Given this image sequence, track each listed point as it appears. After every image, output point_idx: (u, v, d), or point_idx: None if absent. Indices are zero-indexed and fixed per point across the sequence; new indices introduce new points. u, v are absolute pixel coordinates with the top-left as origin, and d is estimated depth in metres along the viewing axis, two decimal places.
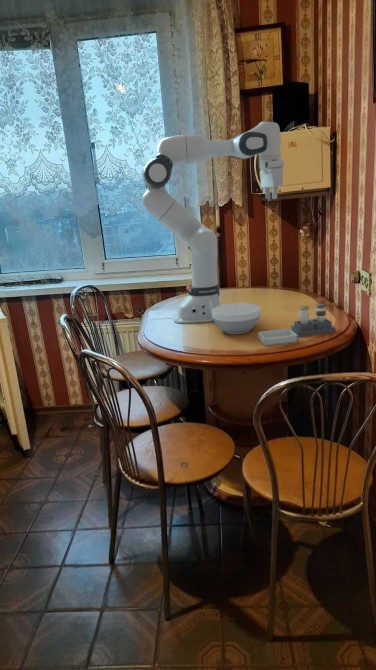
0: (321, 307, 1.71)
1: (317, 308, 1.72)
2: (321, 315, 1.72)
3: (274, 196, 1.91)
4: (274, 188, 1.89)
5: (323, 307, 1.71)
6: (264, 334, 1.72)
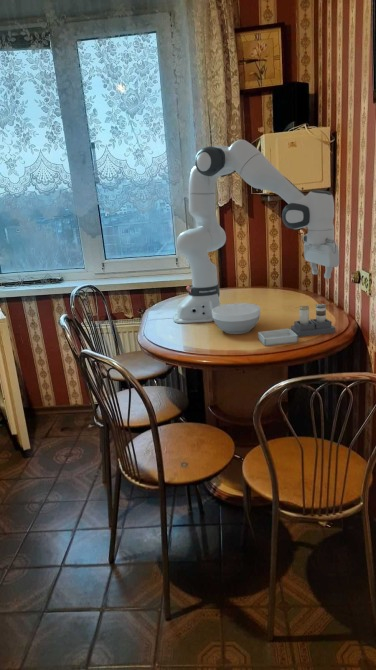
0: (321, 307, 1.71)
1: (317, 308, 1.72)
2: (321, 315, 1.72)
3: None
4: None
5: (323, 307, 1.71)
6: (264, 334, 1.72)
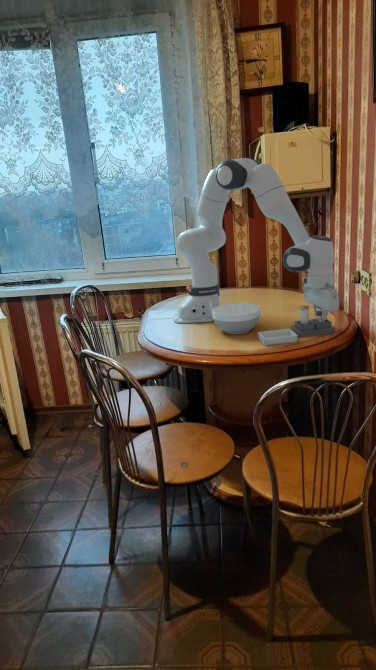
0: None
1: (317, 308, 1.72)
2: None
3: None
4: None
5: None
6: (264, 334, 1.72)
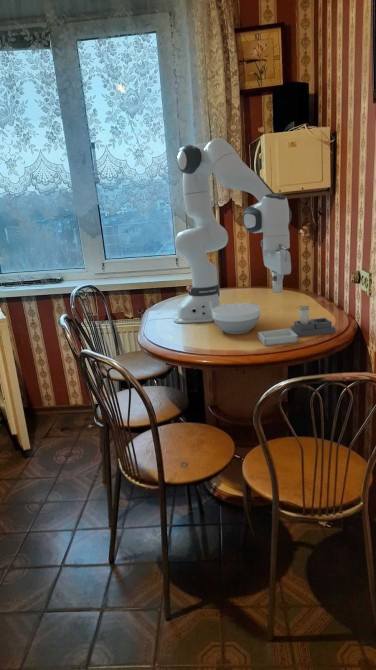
0: None
1: (273, 272, 1.61)
2: None
3: None
4: None
5: None
6: (264, 334, 1.72)
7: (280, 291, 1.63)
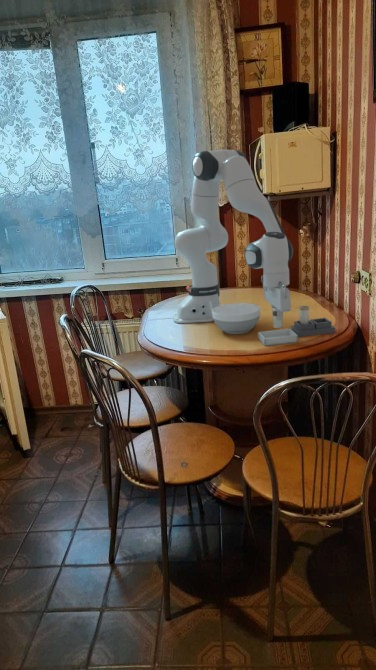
0: None
1: (273, 308, 1.65)
2: None
3: None
4: None
5: None
6: (264, 334, 1.72)
7: (280, 326, 1.66)
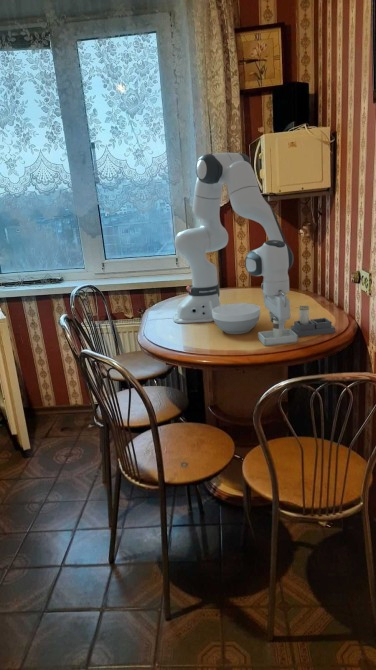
0: (277, 320, 1.65)
1: (274, 320, 1.66)
2: (277, 328, 1.66)
3: None
4: None
5: None
6: (264, 334, 1.72)
7: None
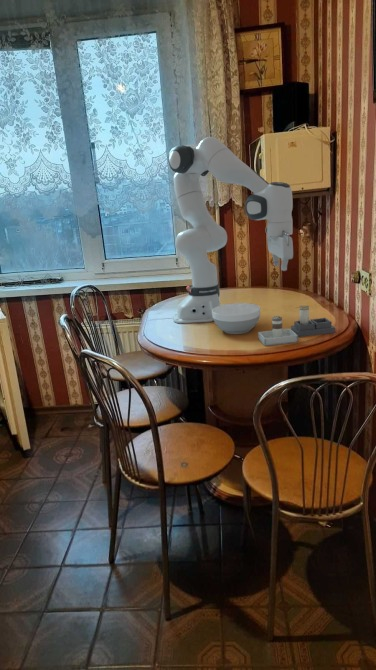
0: (276, 320, 1.65)
1: (273, 321, 1.66)
2: (276, 329, 1.66)
3: None
4: None
5: (278, 320, 1.65)
6: (264, 334, 1.72)
7: None
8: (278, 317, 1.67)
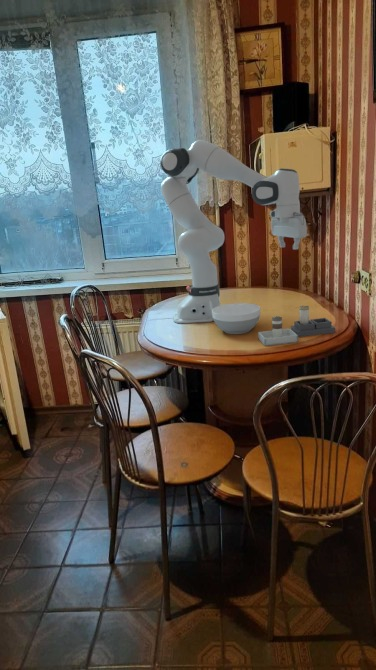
0: (276, 320, 1.65)
1: (273, 321, 1.66)
2: (276, 329, 1.66)
3: None
4: None
5: (278, 320, 1.65)
6: (264, 334, 1.72)
7: None
8: (278, 317, 1.67)
